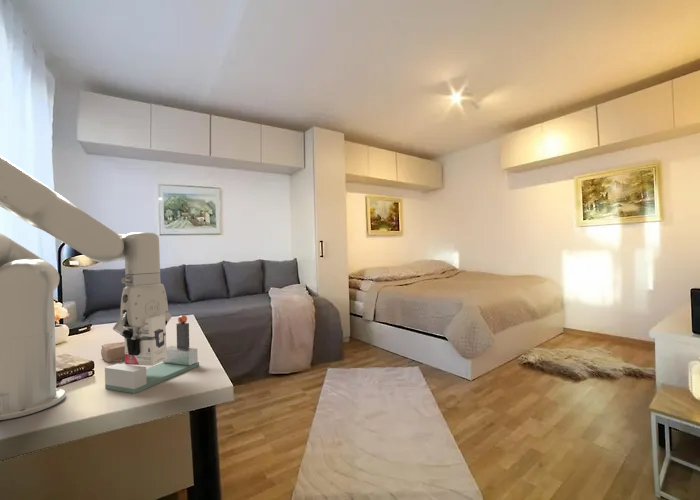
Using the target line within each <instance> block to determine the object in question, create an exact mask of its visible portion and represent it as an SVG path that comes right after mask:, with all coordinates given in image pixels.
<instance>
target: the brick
mask: <svg viewBox="0 0 700 500" xmlns="http://www.w3.org/2000/svg"><path fill="white" fill-rule="evenodd" d="M100 354H101V358H102V359H103V360H104V361H105V362H107V363H111V362H112V363H113V362H119V361H123V360H124V361H125V341H123V342H112V343H106V344H103V345H101V350H100Z"/></svg>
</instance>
